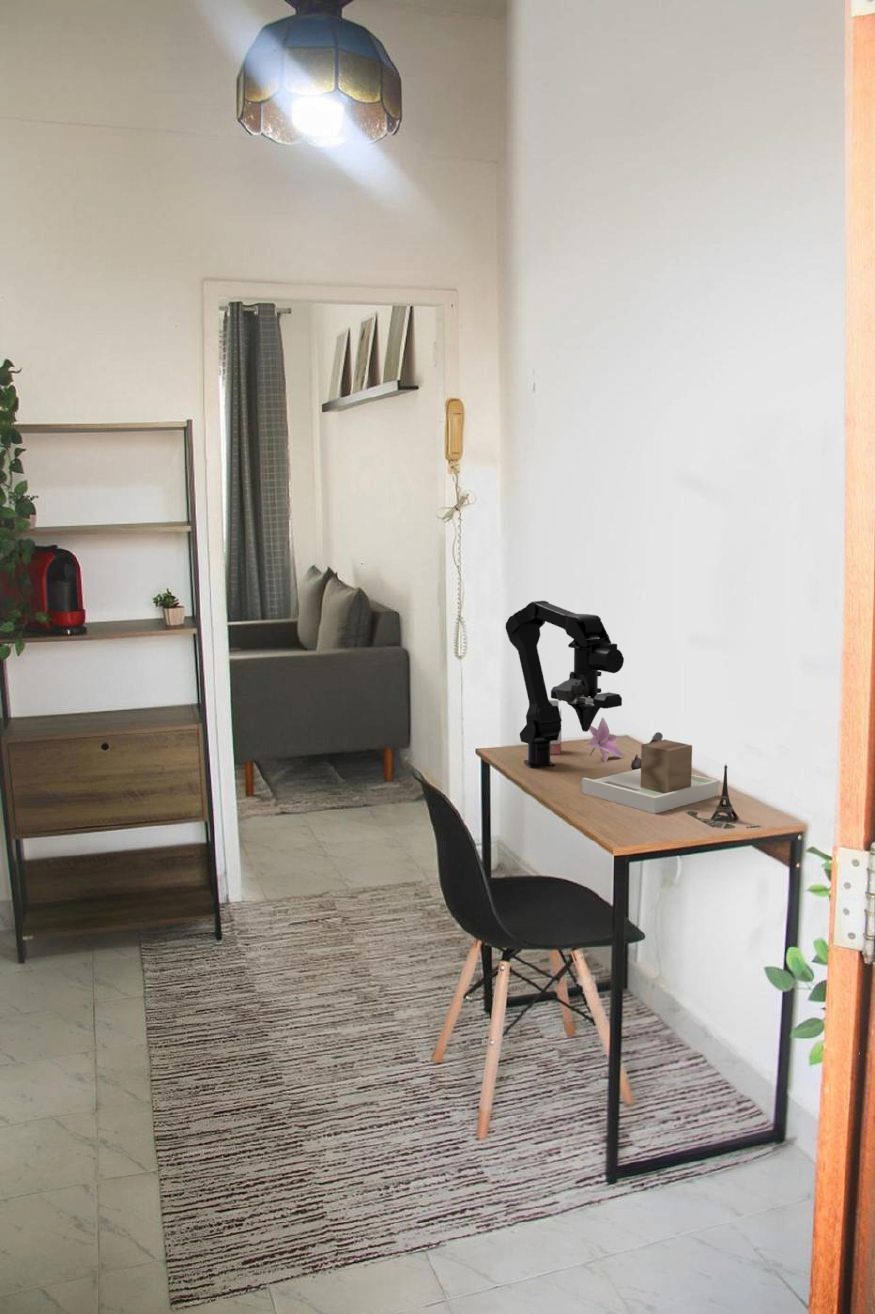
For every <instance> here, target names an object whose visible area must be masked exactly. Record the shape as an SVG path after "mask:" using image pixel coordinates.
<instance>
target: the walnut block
mask: <svg viewBox="0 0 875 1314" xmlns="http://www.w3.org/2000/svg"><path fill="white" fill-rule="evenodd" d="M640 748H641V749H640V752H641V753H640V759H641V765H640V768H641V788H645V789H649V790H652V791H656V792H660V793H664V794H665V793H669V792H673V791H677V790H680V789H684V788H688V787H691V774H692V773H693V772H692V771H693V770H692V768H693V766H692V765H693V764H692V763H693V745H691V744H687V743H682V742H678V741H674V740H668V739H662V740H660V741H656V742H651V743H650V742H646V743H643V744H641V747H640ZM692 775H693V774H692Z"/></svg>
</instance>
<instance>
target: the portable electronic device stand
mask: <svg viewBox="0 0 875 1314" xmlns="http://www.w3.org/2000/svg"><path fill="white" fill-rule="evenodd" d="M660 740H663V733H662V732H659V731H657V732H655V733H654V735H653V736H652V738H651V741H649V743H651V742H656V741H660ZM630 768H631V771H632V770H636V769H640V768H641V757H640V758H639V754H636V755H635V756H634V759H633V760H632V761H631V765H630Z"/></svg>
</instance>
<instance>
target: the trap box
mask: <svg viewBox="0 0 875 1314" xmlns="http://www.w3.org/2000/svg"><path fill="white" fill-rule="evenodd" d="M719 786H720V780H717V779H712V778H709V777H704V776H699V775H695V774H691V787H688V788H684V789H680V790H677V791H673V792H669V793H665V794H664V793H660V792H656V791H652V790H649V789H645V788H641V767H640V768H639V769H636V770H632V769H631V770H628V771H624V772H619V773H615V774H611V775H608V776H604V777H603V776H602V777H599V778H596V779H592V778H588V777H582V778H581V790H582V791H581V793H582V794H585V795H588V796H592V797H595V798H599V799H602V800H606V801H609V802H613V803H616V804H620V805H623V806H626V807H630V808H634V809H637V810H641V811H645V812H647V813H651V814H654V815H656V814H659V813H663V812H665V811H670V810H672V809H676V808H681V807H683V806H688V805H691V804H694V803H698V802H702V801H704V800H708V799H713V798H716V797H718V795H719V793H720V792H719V791H720V790H719V789H720V787H719ZM715 796H716V797H715Z"/></svg>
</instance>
